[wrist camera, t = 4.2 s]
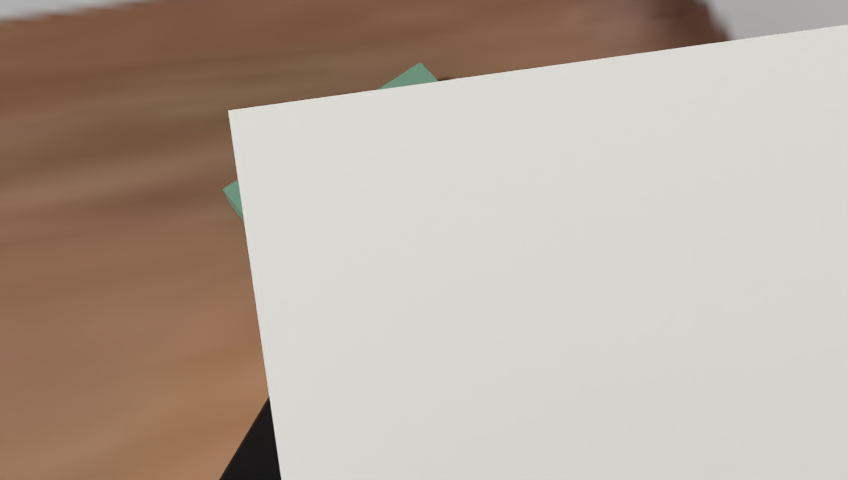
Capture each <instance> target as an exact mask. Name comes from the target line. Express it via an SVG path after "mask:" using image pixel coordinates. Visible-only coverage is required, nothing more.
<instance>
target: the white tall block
mask: <svg viewBox="0 0 848 480" xmlns="http://www.w3.org/2000/svg"><path fill="white" fill-rule="evenodd" d="M228 113H229V120H230V127H231V134H232V141H233V147H234V154H235V161H236V168H237V175H238V182H239V189H240V196H241V203H242V210H243V217H244V224H245V231H246V238H247V245H248V252H249V259H250V265H251V272H252V279H253V286H254V293H255V300H256V307H257V314H258V321H259V328H260V335H261V342H262V349H263V356H264V363H265V370H266V377H267V384H268V390H269V397H270V404H271V411H272V418H273V425H274V432H275V439H276V446H277V453H278V460H279V467H280V474H281V480H848V25H842V26H835V27H828V28H820V29H813V30H806V31H798V32H792V33H784V34H777V35H770V36H763V37H755V38H749V39H741V40H734V41H726V42H719V43H712V44H705V45H698V46H690V47H683V48H676V49H669V50H662V51H654V52H647V53H640V54H633V55H626V56H618V57H611V58H604V59H597V60H589V61H582V62H575V63H568V64H561V65H553V66H546V67H539V68H532V69H525V70H517V71H510V72H503V73H496V74H489V75H481V76H474V77H467V78H460V79H453V80H445V81H438V82H431V83H424V84H417V85H409V86H402V87H395V88H388V89H381V90H373V91H366V92H359V93H352V94H344V95H337V96H330V97H323V98H316V99H308V100H301V101H294V102H287V103H280V104H272V105H265V106H258V107H251V108H244V109H236V110H229V111H228Z"/></svg>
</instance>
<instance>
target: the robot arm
mask: <svg viewBox="0 0 848 480" xmlns="http://www.w3.org/2000/svg"><path fill="white" fill-rule="evenodd" d="M219 480H281V474H280V467H279V460H278V453H277V446H276V439H275V432H274V425H273V418H272V411H271V404H270V397H269V398H268V399H267V401H266V403H265V404H264V406H263V408H262V409H261V411H260V413H259V414H258V416H257V418H256V419H255V421H254V423H253V424H252V426H251V428H250V429H249V431H248V433H247V434H246V436H245V438H244V439H243V441H242V443H241V444H240V446H239V448H238V449H237V451H236V453H235V454H234V456H233V458H232V459H231V461H230V463H229V464H228V466H227V468H226V469H225V471H224V473H223V474H222V476H221V478H220V479H219Z"/></svg>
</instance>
